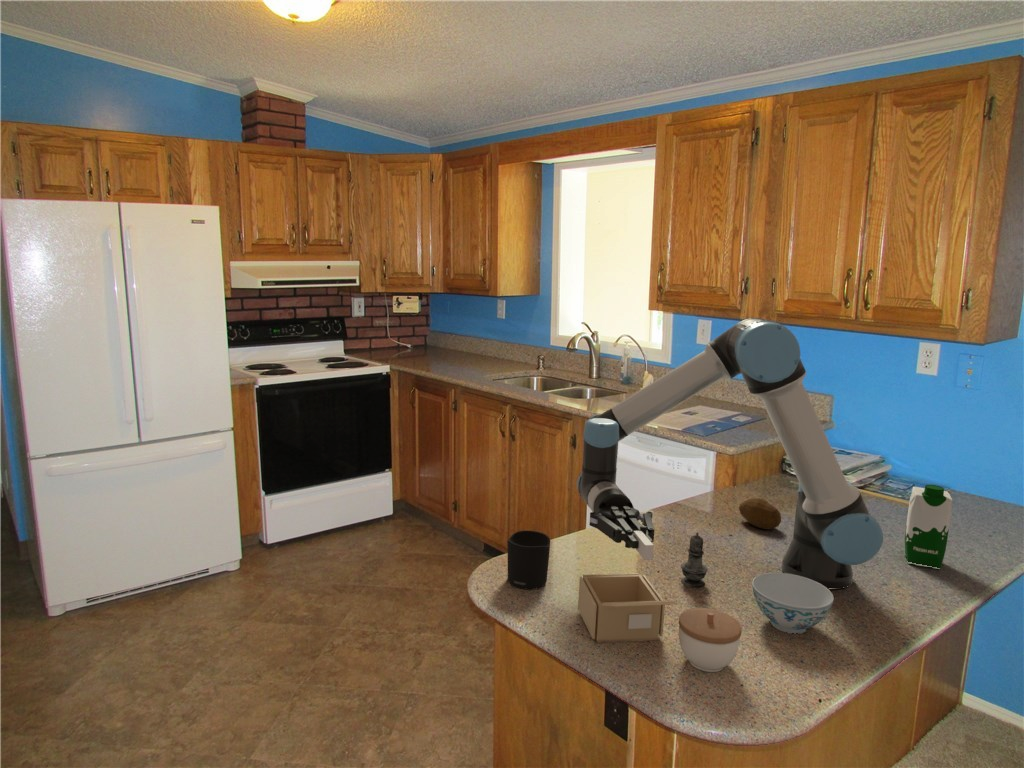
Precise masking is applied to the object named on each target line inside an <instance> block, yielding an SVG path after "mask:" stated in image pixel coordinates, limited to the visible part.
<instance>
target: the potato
mask: <svg viewBox="0 0 1024 768" xmlns="http://www.w3.org/2000/svg"><path fill="white" fill-rule="evenodd" d="M738 511H739V513H740V515H741V516H742V518H744V519H745V520H746V521H747V522H748V523H749V524H751V525H752V526H754V527H756V528H758V529H761V528H762V529H761V530H773V529H775V528H778V527H779V526H780V524H781V522H782V516H781V512H780V511H779V509H778V508H777V507H775V506H774V505H773V504H771V503H770V502H769V501H767V500H765V498H750V499H746V500H744V501H743V502H741V503H740V504H739V506H738Z"/></svg>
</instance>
